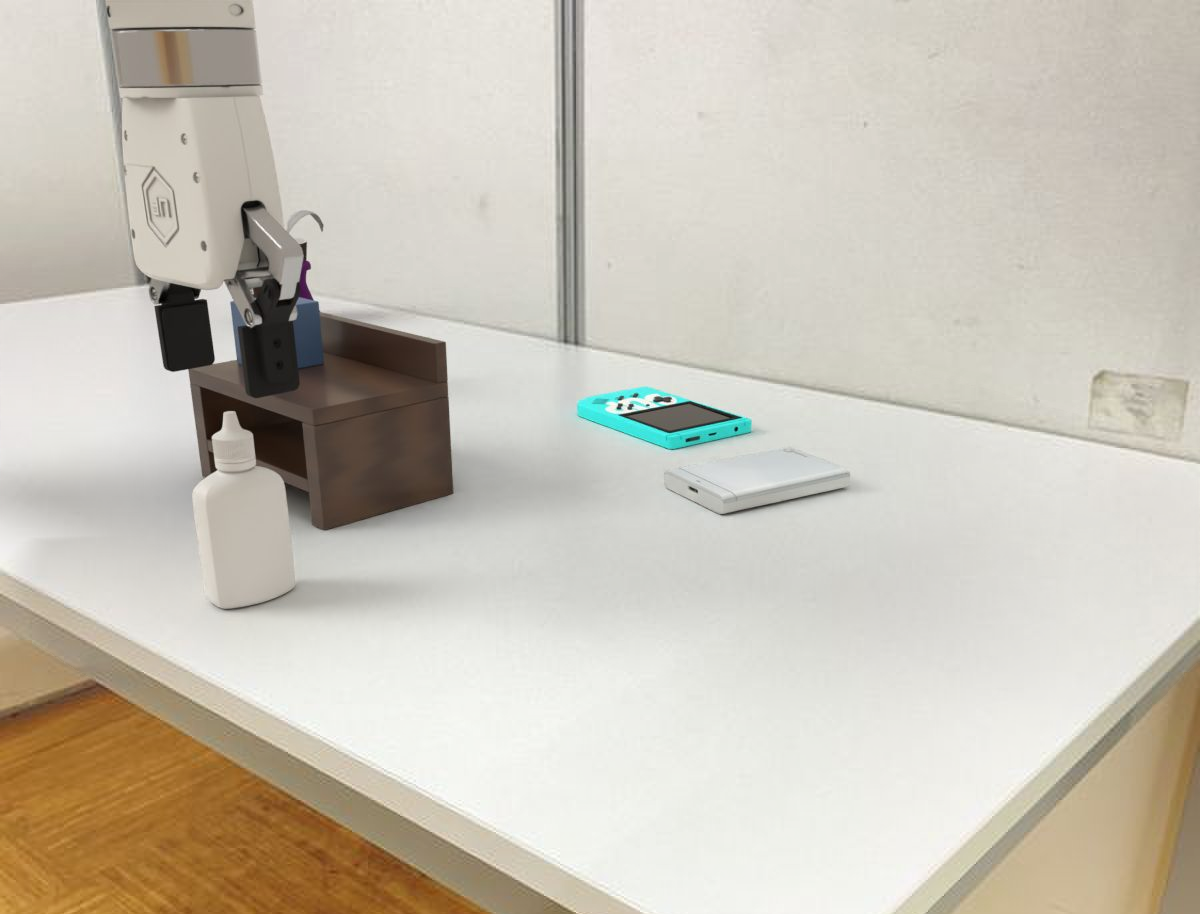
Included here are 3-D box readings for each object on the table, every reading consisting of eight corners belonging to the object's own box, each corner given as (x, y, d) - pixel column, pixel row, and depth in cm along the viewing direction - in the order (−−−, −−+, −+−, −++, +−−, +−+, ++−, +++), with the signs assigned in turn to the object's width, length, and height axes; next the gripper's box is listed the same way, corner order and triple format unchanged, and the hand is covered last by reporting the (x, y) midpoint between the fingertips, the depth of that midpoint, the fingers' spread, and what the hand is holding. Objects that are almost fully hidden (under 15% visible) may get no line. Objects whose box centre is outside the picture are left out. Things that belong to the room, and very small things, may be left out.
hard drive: (786, 444, 106) (663, 467, 100) (851, 469, 99) (724, 495, 93) (785, 463, 106) (662, 487, 101) (849, 489, 100) (723, 516, 94)
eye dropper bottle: (207, 586, 82) (182, 406, 77) (295, 578, 83) (276, 400, 78) (205, 613, 78) (178, 425, 73) (297, 604, 79) (277, 418, 74)
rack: (324, 530, 91) (308, 367, 87) (202, 476, 103) (182, 330, 98) (453, 493, 99) (446, 341, 94) (326, 447, 111) (313, 310, 106)
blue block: (269, 374, 98) (262, 309, 96) (236, 364, 101) (229, 301, 99) (324, 364, 101) (319, 301, 99) (291, 354, 104) (285, 293, 102)
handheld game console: (647, 396, 127) (648, 383, 127) (755, 431, 115) (756, 417, 115) (566, 412, 122) (566, 398, 121) (671, 450, 110) (671, 435, 109)
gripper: (54, 70, 71) (105, 369, 78) (204, 68, 60) (249, 417, 67) (176, 68, 76) (215, 350, 83) (337, 66, 65) (366, 392, 71)
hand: (230, 379), depth 75 cm, fingers open, 9 cm apart
